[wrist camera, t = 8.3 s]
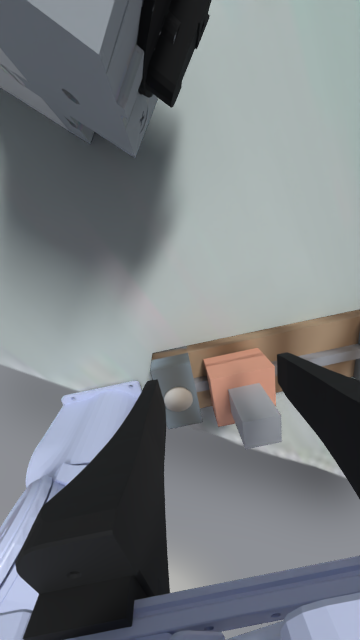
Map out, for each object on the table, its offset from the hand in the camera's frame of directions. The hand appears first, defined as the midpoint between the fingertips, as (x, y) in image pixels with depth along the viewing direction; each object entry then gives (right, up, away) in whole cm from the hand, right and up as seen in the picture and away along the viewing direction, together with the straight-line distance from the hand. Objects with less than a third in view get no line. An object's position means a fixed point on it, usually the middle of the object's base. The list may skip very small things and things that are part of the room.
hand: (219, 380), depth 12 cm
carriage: (+4, -3, +11) cm, 11 cm away
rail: (+9, -1, +12) cm, 15 cm away
